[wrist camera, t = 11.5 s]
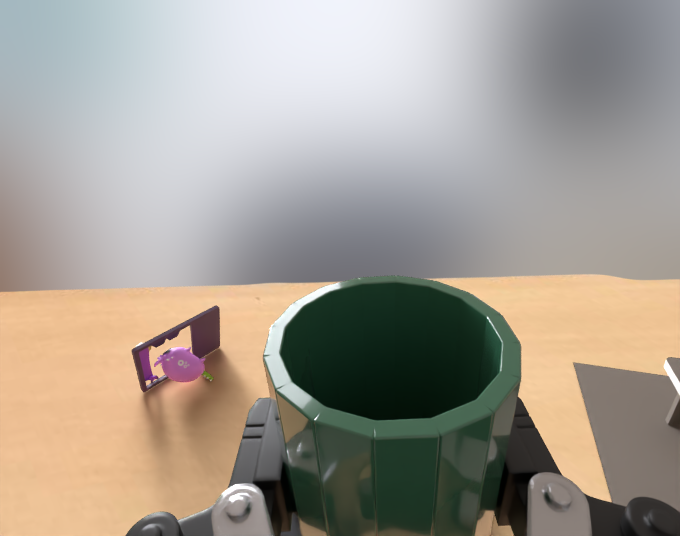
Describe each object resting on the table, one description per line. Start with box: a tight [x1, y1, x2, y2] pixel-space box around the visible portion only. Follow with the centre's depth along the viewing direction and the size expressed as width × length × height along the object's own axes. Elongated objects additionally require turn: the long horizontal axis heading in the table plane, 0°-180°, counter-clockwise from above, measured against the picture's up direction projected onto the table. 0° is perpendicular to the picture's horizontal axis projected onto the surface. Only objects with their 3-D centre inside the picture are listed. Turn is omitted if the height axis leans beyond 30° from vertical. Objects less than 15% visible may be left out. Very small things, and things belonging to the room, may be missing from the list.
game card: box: [132, 305, 220, 392], centre depth 39 cm, size 7×5×9 cm
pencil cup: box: [263, 276, 521, 536], centre depth 11 cm, size 6×6×11 cm
